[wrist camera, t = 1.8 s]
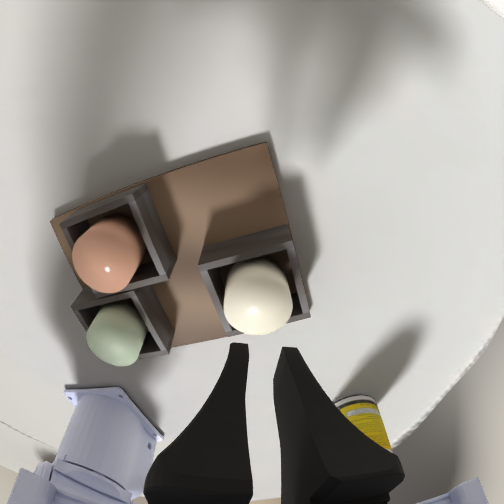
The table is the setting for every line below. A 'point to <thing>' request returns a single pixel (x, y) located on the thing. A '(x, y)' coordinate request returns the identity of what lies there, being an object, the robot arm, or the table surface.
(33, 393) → the table surface
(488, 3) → the flower in vase
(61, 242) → the button panel
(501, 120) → the table surface
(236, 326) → the cream button
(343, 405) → the supplement bottle
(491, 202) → the table surface
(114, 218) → the terracotta button
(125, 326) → the sage button
